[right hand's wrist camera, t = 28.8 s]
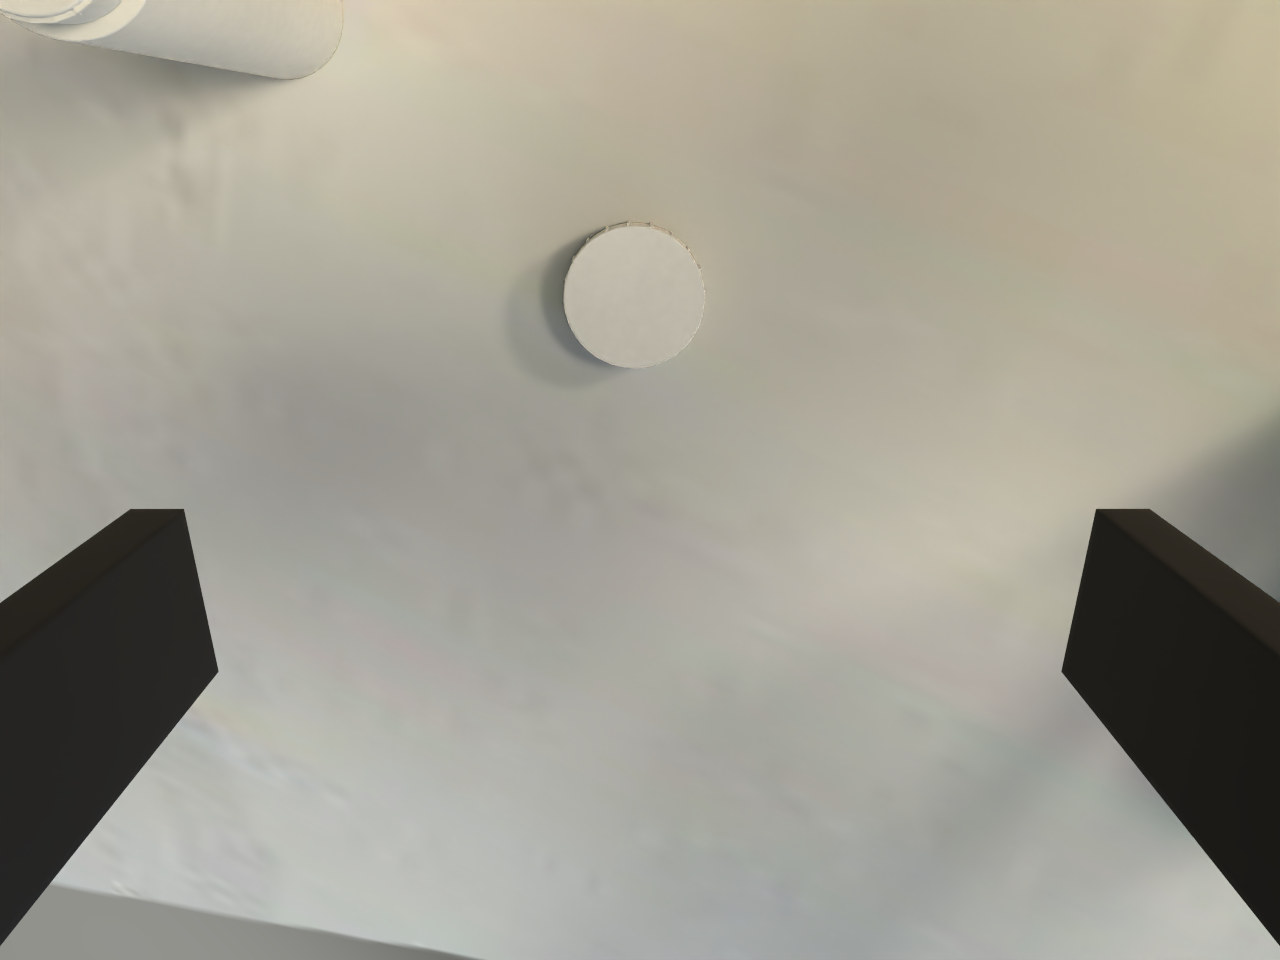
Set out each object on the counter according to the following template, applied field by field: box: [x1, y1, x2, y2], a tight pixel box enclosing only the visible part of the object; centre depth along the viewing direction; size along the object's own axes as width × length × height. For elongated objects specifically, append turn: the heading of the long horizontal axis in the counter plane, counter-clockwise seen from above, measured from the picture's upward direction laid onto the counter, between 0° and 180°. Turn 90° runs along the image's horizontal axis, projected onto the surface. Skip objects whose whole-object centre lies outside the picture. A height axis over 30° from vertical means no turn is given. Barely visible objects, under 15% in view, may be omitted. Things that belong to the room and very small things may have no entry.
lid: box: [563, 221, 706, 368], centre depth 36 cm, size 6×6×2 cm
